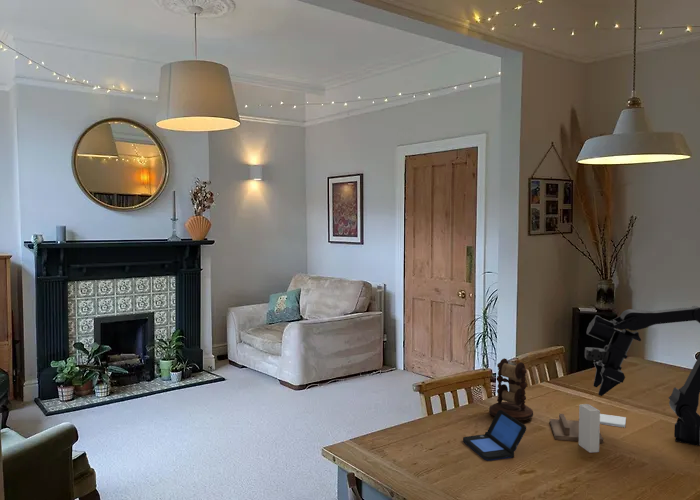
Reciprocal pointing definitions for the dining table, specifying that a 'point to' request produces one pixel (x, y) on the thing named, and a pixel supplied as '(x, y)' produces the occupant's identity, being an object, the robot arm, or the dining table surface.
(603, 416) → the external hard drive
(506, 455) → the handheld game console
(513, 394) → the wooden spool holder
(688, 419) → the robot arm
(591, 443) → the cream rectangular block
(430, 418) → the dining table surface
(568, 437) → the rack
